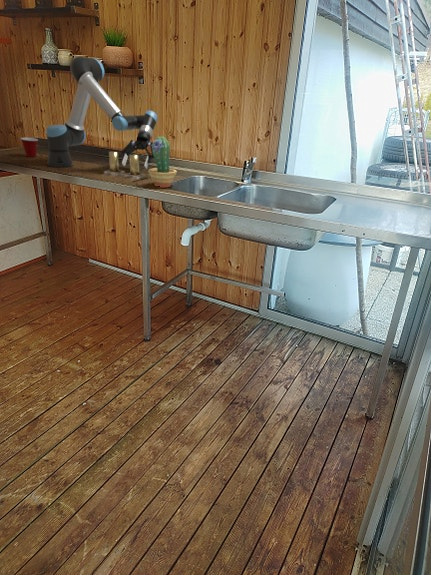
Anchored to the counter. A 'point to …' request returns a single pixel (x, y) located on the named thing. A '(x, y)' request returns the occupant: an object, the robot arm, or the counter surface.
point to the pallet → (124, 175)
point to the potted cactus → (162, 163)
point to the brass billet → (134, 164)
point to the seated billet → (113, 162)
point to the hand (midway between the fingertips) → (134, 166)
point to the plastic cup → (30, 146)
